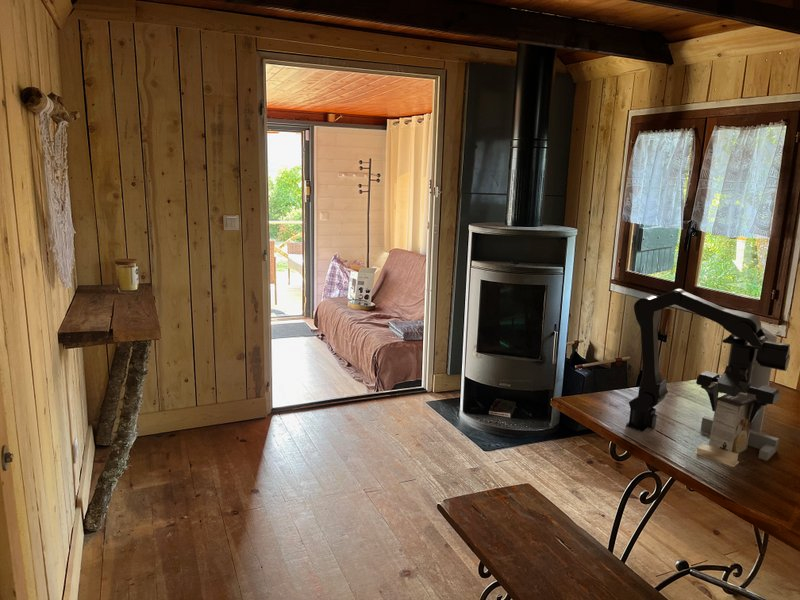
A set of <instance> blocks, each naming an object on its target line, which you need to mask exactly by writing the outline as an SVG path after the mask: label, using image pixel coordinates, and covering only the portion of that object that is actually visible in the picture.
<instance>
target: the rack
mask: <svg viewBox="0 0 800 600" xmlns="http://www.w3.org/2000/svg"><path fill="white" fill-rule="evenodd" d="M713 418H714V417H710V416H707V415H704V416H703V417H702V418H701V419H702V420H701V423H700V425H701V426H700V430H701V431H704V432H706V433H710V434H711V430H712V424H713ZM779 439H780V438H779V437H775V436H771V435H769V434H767V433H763V432H761V433H759V432H756V431H753V430H750V436H749V441H748V446H749V447H752V448H755V449H759V452H758V459H760V460H763V461H766V462H767V461H768V460H769V459H771V458H772V456H774V455H775V453H777V451H778V445H779Z"/></svg>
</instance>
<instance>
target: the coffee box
mask: <svg viewBox="0 0 800 600" xmlns="http://www.w3.org/2000/svg"><path fill="white" fill-rule="evenodd" d="M754 400H756V398H753V397H750V396H747V395H743V394H740V393H739V394H738V395H737V396H730V395H728V394H723V395H721V396H718V398H717V401H716V407H715V411H713V412H714V413H713V417H712V418H713V424H712V430H711V433H710V435H709V442H708V445H709V446H712V447H716V448H719V449H723V450H726V451H730V452H733V453H737V454H738V455H739V454H740V453H742V452H744V451H746V450H747V449H748V446H749V445H748V441H749V436H750V430H751V426H752V423H750V416H751V412H752V409H753V401H754Z"/></svg>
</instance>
